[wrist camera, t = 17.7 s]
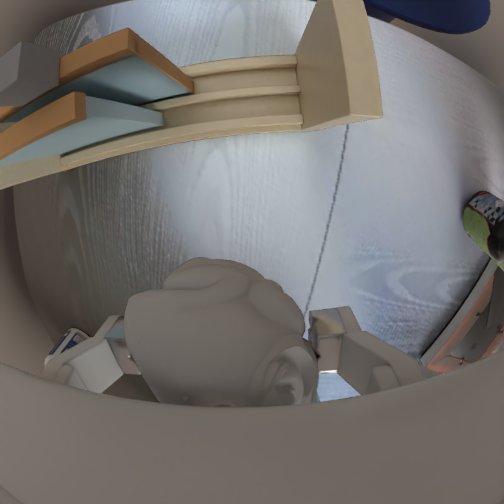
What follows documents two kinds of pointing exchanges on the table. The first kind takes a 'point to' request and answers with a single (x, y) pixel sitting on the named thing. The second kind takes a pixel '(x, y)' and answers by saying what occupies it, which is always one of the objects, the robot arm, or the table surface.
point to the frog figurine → (221, 339)
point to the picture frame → (472, 326)
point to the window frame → (212, 102)
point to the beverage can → (486, 224)
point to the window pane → (88, 74)
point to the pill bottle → (67, 342)
